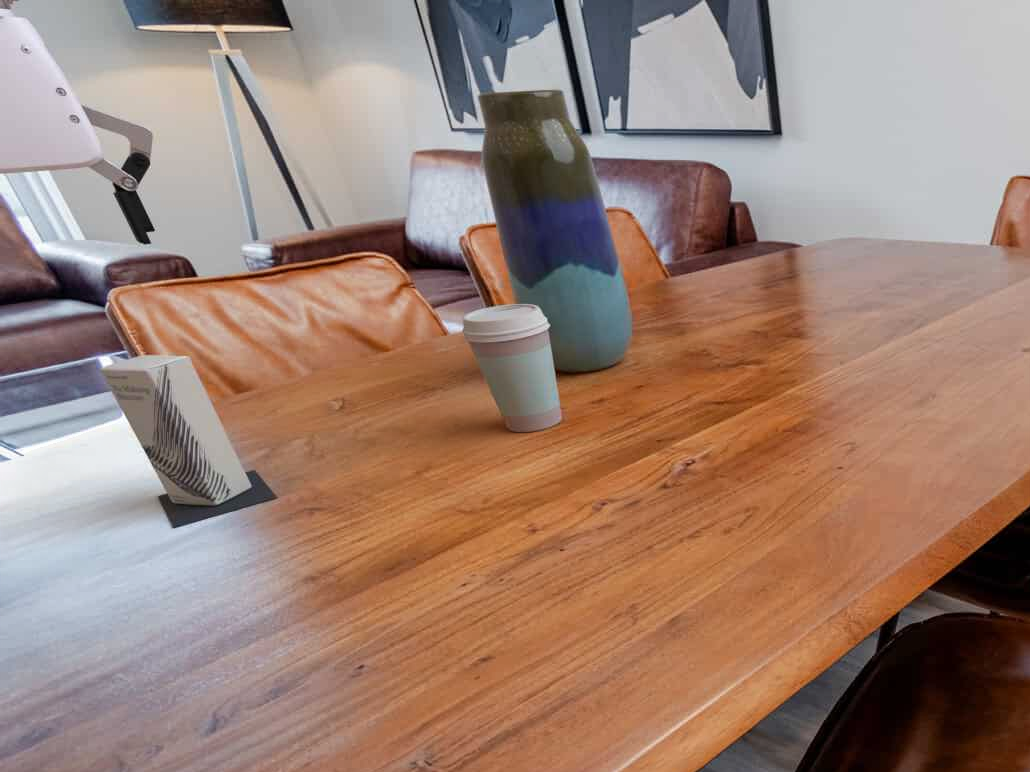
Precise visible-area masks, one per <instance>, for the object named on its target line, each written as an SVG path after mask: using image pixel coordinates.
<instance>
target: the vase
mask: <svg viewBox="0 0 1030 772" xmlns="http://www.w3.org/2000/svg"><path fill="white" fill-rule="evenodd" d="M477 100H478V104H479V109H480V112H481V116H482V120H483V125H484V133H483V140H482V148H481V163H482V169H483V174H484V177H485V181H486V185H487V190H488V194H489V199H490V203H491V208H492V212H493V216H494V220H495V225H496V229H497V233H498V239H499V242H500V247H501V250H502V256H503V259H504V263H505V267H506V272H507V276H508V279H509V284H510V289H511V293H512V296H513V300H514V304H532V305H536V306H538V307H539V308H540V309H541V311H542V313H543V315H544V316H545V317H546V318H547V322H548V323H549V324H550V327H549V328H548V332H549V338H550V344H551V351H552V357H553V363H554V370H556V371H559V372H564V373H586V372H593V371H600V370H603V369H607V368H610V367H612V366H614V365H616V364H618V363H620V362H621V361H622V360H623V359H624V357H625V356H626V354H627V353H628V351H629V348H630V346H631V342H632V339H633V335H634V334H633V332H634V325H633V323H634V322H633V313H632V308H631V302H630V297H629V293H628V290H627V286H626V281H625V278H624V274H623V270H622V266H621V262H620V259H619V255H618V251H617V248H616V244H615V240H614V236H613V233H612V229H611V226H610V221H609V218H608V214H607V209H606V207H605V203H604V199H603V196H602V195H603V194H602V192H601V187H600V184H599V180H598V177H597V173H596V170H595V166H594V161H593V159H592V156H591V153H590V150H589V148H588V145H587V144H586V142H585V141H584V139H583V138H582V137H581V135H580V133H579V131H578V130H577V129H576V127H575V125H574V124H573V122H572V120H571V117H570V113H569V109H568V105H567V100H566V97H565V93H564V91H563V90H562V89H537V90H535V89H534V90H520V91H519V90H517V91H502V92H501V91H500V92H499V91H498V92H485V93H484V92H483V93H479V94H478V95H477Z"/></svg>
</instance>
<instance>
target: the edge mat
mask: <svg viewBox="0 0 1030 772" xmlns="http://www.w3.org/2000/svg"><path fill="white" fill-rule="evenodd" d="M245 473H246V475H247V477H248V479H249V481H250V484H251V486H252V488H250V489H248V490H247V491H245V492H243V493H241V494H239V495H237V496H235V497H233V498H231V499H229V500H226V501H224V502H223V503H221V504H218V505H215V506H207V505H189V504H176V503H173V502H172V501H171V499H170V497H169V495H168V494H167V493H163V494H160V495H159V494H158V495H157V498H158V500H159V502H160V504H161V507H162V508H163V510H164V512H165V514H166V516H167V518H168V520H169V522H170V524H171V526H172V528H173V529H175V528H178V527H182V526H187V525H189V524H192V523H196V522H199V521H203V520H206V519H209V518H213V517H216V516H220V515H223V514H227V513H231V512H235V511H237V510H238V511H239V510H240V509H245V508H247V507H251V506H254V505H255V506H256V505H258V504H262V503H265V502H268V501H272V500H275V499H278V495H276V494H275V493H274V491H273V490H272V489H271V488H270V487H269V486H268V484H267V483H266V481H264V480H263V478H262V477H261V475H259V473H258V472H257V471H256V470H255V469H251V470H248V471H245Z"/></svg>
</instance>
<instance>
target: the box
mask: <svg viewBox="0 0 1030 772" xmlns="http://www.w3.org/2000/svg"><path fill="white" fill-rule="evenodd" d="M99 371H100V373H101V374H102V376H103V378H104V380H105V382H106V384H107V385H108V387H109V389H110V391H111V393H112V395H113V397H114V398H115V400H116V402H117V405H118V406H119V408H120V410H121V411H122V413H123V414H124V416H125V418H126V420H127V422H128V424H129V426H130V428H131V429H132V432H133V433H134V435H135V437H136V438H137V441H138V443H139V444H140V446H141V447H142V449H143V451H144V454H146V457H147V459H148V461H149V462H150V464H151V466H152V468H153V470H154V472H155V474H156V476H157V477H158V479H159V481H160V483H161V484H162V487H163V488H164V490H165V492H166V494H168V495H169V497H170V499H171V501H172V502H173V503H176V504H189V505H207V506H215V505H218V504H221V503H223V502H224V501H226V500H229V499H231V498H233V497H235V496H237V495H239V494H241V493H243V492H245V491H247V490H248V489H250V488H252V486H251V484H250V481H249V479H248V477H247V475H246V473H245V472H246V471H245V469H244V468H243V465H242V463H241V461H240V458H239V457H238V455H237V453H236V451H235V449H234V447H233V444H232V442H231V441H230V438H229V436H228V433H227V431H226V430H225V427H224V426H223V423H222V421H221V419H220V418H219V416H218V415H219V414H217V412H216V409H215V407H214V405H213V403H212V401H211V399H210V397H209V395H208V392H207V390H206V389H205V386H204V385H203V382H202V380H201V379H200V376H199V374H198V373H197V370H196V368H195V366H194V364H193V362H192V360H191V358H190V356H187V355H171V354H168V355H167V354H159V355H157V354H141V355H138V356H135V357H131V358H127V359H125V360H122V361H119V362H115V363H112V364H108V365H105V366H102V367H100V368H99Z"/></svg>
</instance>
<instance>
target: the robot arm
mask: <svg viewBox="0 0 1030 772" xmlns="http://www.w3.org/2000/svg"><path fill="white" fill-rule="evenodd" d="M14 2H20V0H0V175H1V174H2V175H5V174H19V173H32V172H33V173H34V172H45V171H61V170H72V169H81V168H90V169H91V170H93V171H94V172H96V173H97V174H99V175H101V176H102V177H103V178H105V179H107V180H108V181H110V182H112V187H113V188H114V192H113V193H112V194H113V196H114V198H115V200H116V202H117V205H118V206H119V208H120V210H121V213H122V214H123V216H124V218H125V220H126V222H127V224H128V226H129V228H130V230H131V232H132V234H133V237H134V238H135V240H136V242H138V243H139V244H142V245H151V244H152V241H151V240H150V237H149V235H148V233H153V232H156V230H155V227H154V225H153V223H152V221H151V218H150V216H149V214H148V213H147V210H146V208H145V206H144V204H143V202H142V200H141V198H140V196H139V194H138V192H137V190H138V188H139V184H141V181H142V180H143V178H144V177H145V175H146V173H147V171H148V170H149V168H150V166H151V155H152V147H153V146H152V145H153V137H154V136H153V132H152V131H151V129H150V128H148V127H146V126H144V125H142V124H138V123H135V122H133V121H130V120H126V119H123V118H122V117H119V116H115V115H113V114H110V113H107V112H103V111H102V110H98V109H95V108H93V107H89V106H87V105H84V104H82V103H80V100H79V98H78V96H77V95H76V93H75V91H74V89H73V88H72V86H71V84H70V82H69V80H68V79H67V77H66V75H65V74H64V72H63V70H62V69H61V67H60V66H59V64H58V63H57V61H56V59H55V58H54V56H53V55H52V52H51V51H50V49H49V48H48V46H47V45H46V43H45V41H44V40H43V38H42V37H41V35H40V34H39V32H38V31H37V29H36V28H35V27H34V26H33V24H32V23H31V22H30V20H29V19H28V18H26V17H20V16H16V15H15V14H14V12H13V10H12V6H11V5H14ZM94 127H97V128H99V129H103V130H106V131H108V132H112V133H114V134H117V135H120V136H123V137H125V138H126V139H127V140H128V141H129V154H128V156H127V158H126V159H125V161H124V163H123V165H122V166H121V167H118V166H116V165H115V164H113V163H111V162H110V161H109V160H108V159H105V158H104V156H105V155H104V149H103V147H102V144H101V142H100V139H99V137H98V136H97V133H96V131H95V129H94Z"/></svg>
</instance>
